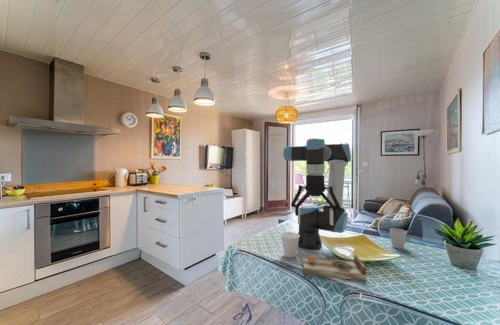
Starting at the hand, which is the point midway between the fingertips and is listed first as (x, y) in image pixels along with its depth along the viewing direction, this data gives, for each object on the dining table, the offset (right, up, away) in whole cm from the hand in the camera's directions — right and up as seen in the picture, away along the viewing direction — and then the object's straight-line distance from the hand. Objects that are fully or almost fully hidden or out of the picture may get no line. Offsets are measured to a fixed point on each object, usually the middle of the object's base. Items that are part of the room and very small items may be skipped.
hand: (314, 223), depth 89 cm
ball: (+1, -18, +7) cm, 20 cm away
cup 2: (+60, -24, +34) cm, 73 cm away
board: (+9, -23, +5) cm, 25 cm away
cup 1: (-7, -23, +20) cm, 31 cm away
